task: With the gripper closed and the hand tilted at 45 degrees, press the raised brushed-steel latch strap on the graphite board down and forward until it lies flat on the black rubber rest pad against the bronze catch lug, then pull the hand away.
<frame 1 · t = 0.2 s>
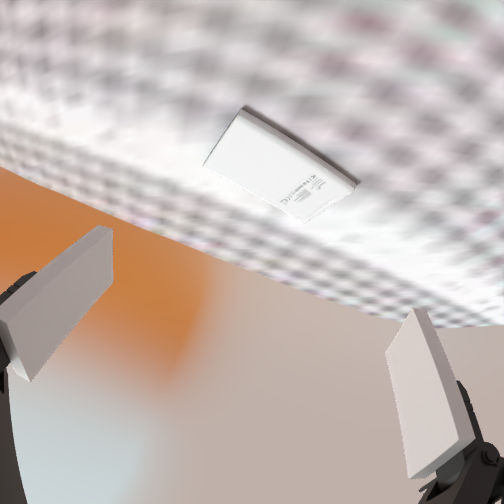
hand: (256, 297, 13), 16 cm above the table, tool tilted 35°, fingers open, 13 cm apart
external hard drive: (279, 164, 30), on the table
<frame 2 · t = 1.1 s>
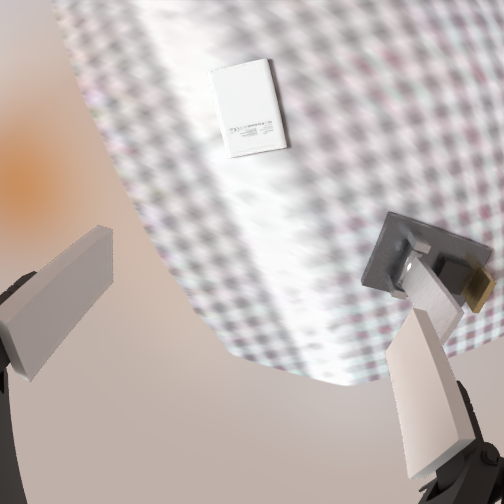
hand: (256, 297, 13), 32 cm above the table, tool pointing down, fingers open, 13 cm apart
latch strap: (427, 293, 36), point 10 cm above the table, hinge at 10.0°
latch board: (402, 255, 45), on the table
external hard drive: (248, 108, 40), on the table
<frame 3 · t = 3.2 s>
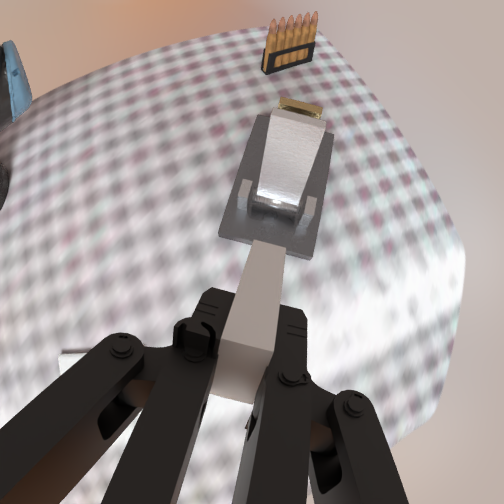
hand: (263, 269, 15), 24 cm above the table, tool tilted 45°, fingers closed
latch strap: (285, 167, 33), point 10 cm above the table, hinge at 10.0°
ammunition clip: (286, 65, 51), on the table
latch board: (273, 213, 42), on the table
external hard drive: (106, 383, 35), on the table
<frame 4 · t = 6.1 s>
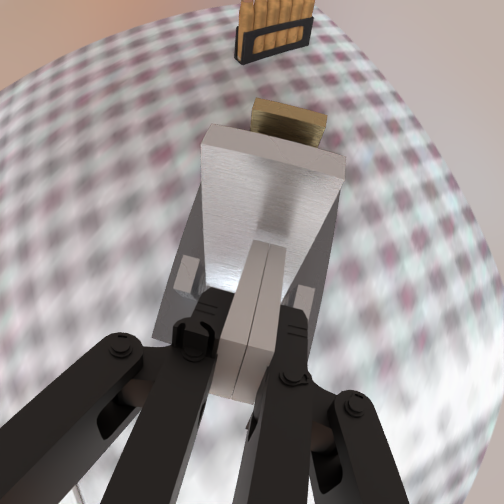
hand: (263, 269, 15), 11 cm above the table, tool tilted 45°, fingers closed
latch strap: (253, 248, 17), point 10 cm above the table, hinge at 12.9°, touching gripper
ammunition clip: (272, 51, 35), on the table
latch board: (242, 299, 26), on the table
external hard drive: (41, 499, 19), on the table
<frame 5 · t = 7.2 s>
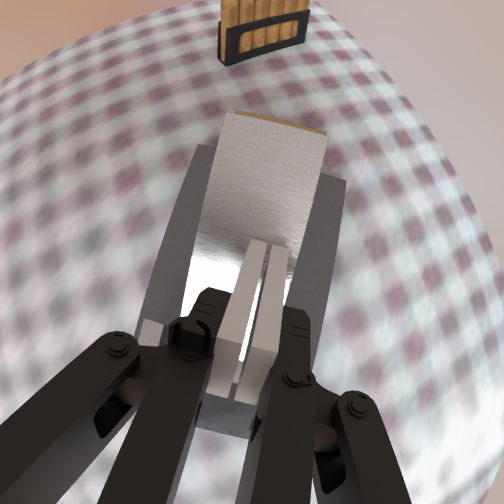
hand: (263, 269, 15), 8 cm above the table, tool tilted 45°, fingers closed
latch strap: (243, 261, 16), point 7 cm above the table, hinge at 62.2°, touching gripper
ammunition clip: (262, 50, 30), on the table
latch board: (221, 357, 21), on the table
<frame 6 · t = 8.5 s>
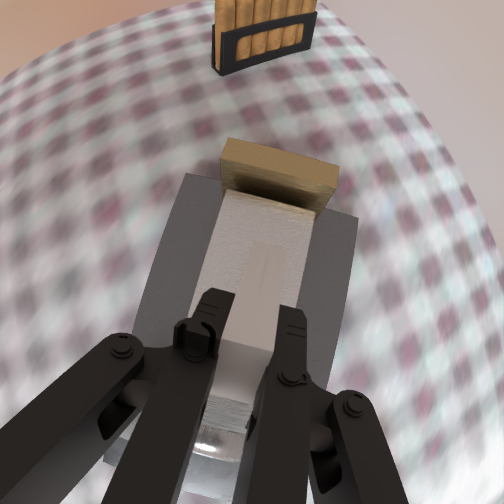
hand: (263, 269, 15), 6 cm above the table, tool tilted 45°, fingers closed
latch strap: (237, 328, 16), point 4 cm above the table, hinge at 90.5°, touching gripper
ammunition clip: (263, 57, 27), on the table
latch board: (213, 420, 18), on the table
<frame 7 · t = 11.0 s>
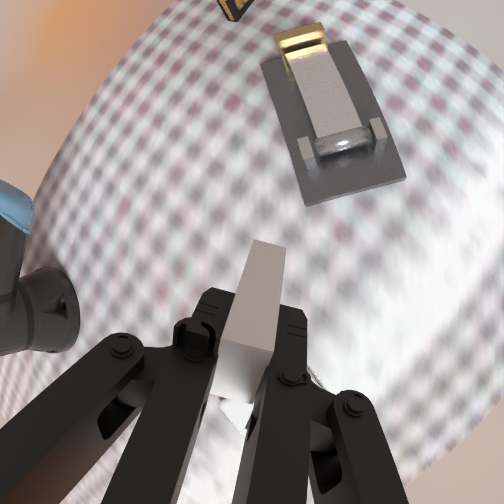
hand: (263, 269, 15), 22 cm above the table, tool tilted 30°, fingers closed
latch strap: (324, 94, 31), point 4 cm above the table, hinge at 90.5°
ammunition clip: (248, 1, 39), on the table
latch board: (343, 152, 35), on the table
external hard drive: (277, 402, 37), on the table
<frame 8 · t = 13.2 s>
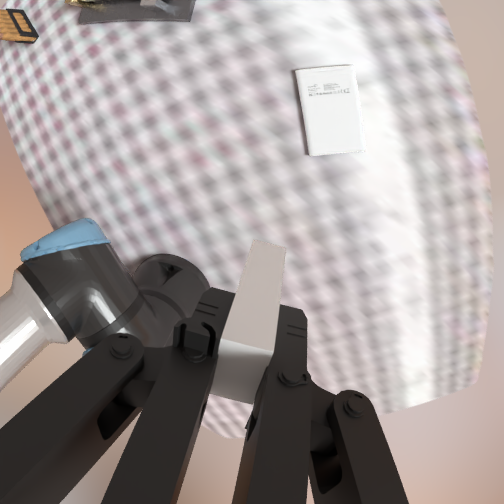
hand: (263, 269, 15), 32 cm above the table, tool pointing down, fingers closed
ammunition clip: (28, 26, 36), on the table
external hard drive: (331, 109, 40), on the table
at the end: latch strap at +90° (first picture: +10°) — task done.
